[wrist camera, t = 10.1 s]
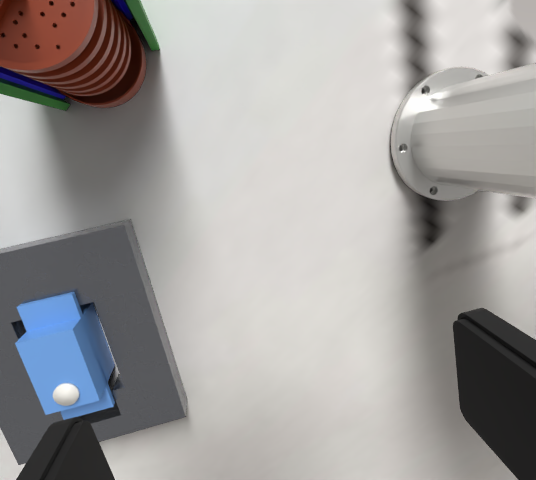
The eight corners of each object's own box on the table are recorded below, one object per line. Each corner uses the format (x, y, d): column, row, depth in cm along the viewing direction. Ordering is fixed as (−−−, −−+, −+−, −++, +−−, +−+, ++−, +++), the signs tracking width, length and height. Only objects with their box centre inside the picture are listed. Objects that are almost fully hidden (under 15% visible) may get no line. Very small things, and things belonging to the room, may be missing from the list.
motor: (97, 138, 31) (-74, 119, 12) (2, 57, 29) (-400, -126, 10) (175, 48, 31) (124, -121, 12) (85, -42, 28) (-172, -450, 9)
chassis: (130, 219, 33) (124, 225, 31) (187, 398, 39) (185, 416, 36) (-54, 261, 32) (-77, 271, 29) (31, 443, 37) (18, 465, 34)
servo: (85, 280, 34) (61, 305, 29) (121, 383, 37) (107, 424, 32) (35, 291, 34) (1, 319, 28) (76, 395, 37) (53, 439, 31)
